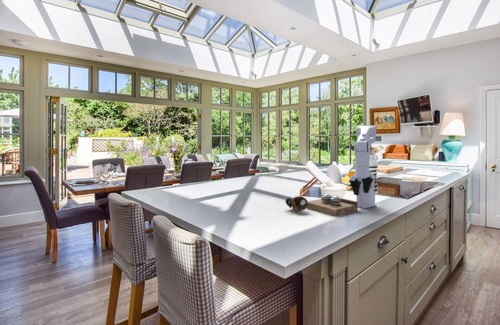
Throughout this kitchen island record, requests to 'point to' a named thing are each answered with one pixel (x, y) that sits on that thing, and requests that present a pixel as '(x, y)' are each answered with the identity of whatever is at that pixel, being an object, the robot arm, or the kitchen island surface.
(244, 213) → the kitchen island surface
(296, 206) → the brown animal figurine
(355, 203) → the block
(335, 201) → the stepped metal shaft
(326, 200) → the seated shaft
